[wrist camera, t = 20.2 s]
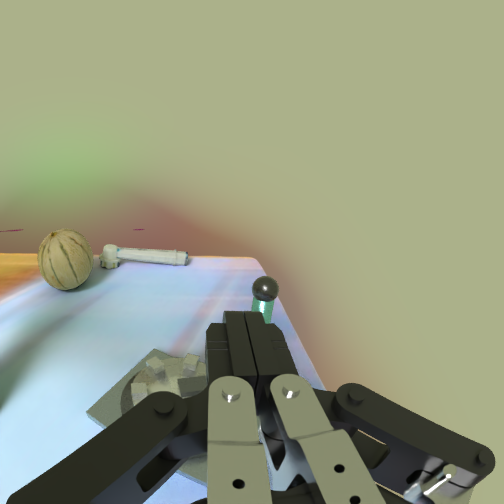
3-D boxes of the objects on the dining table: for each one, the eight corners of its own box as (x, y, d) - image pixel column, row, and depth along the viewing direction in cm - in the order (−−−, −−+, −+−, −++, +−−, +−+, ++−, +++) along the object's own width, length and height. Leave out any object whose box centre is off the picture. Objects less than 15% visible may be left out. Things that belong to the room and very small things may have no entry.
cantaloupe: (106, 279, 69) (102, 223, 64) (72, 307, 56) (61, 244, 50) (67, 267, 71) (61, 216, 65) (32, 291, 58) (21, 234, 52)
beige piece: (188, 256, 80) (99, 245, 71) (185, 277, 82) (98, 268, 73) (186, 248, 85) (102, 238, 75) (183, 269, 87) (100, 259, 77)
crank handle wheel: (139, 443, 28) (107, 326, 21) (131, 372, 39) (115, 258, 32) (274, 422, 35) (308, 308, 28) (243, 360, 46) (258, 253, 39)
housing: (88, 417, 33) (82, 403, 32) (154, 354, 49) (153, 340, 47) (224, 494, 26) (225, 485, 25) (271, 402, 42) (275, 388, 41)
